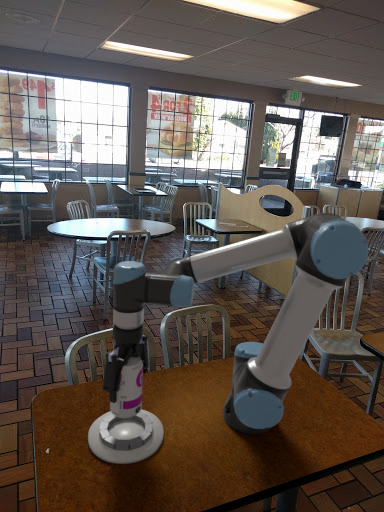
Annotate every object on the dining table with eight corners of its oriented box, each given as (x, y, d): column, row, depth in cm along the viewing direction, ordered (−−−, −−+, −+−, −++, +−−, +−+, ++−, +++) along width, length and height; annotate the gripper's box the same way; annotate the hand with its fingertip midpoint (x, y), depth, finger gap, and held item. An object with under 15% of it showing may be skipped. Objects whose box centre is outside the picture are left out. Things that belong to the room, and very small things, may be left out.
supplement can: (144, 401, 107) (146, 352, 103) (137, 421, 99) (138, 369, 95) (115, 398, 108) (116, 349, 104) (106, 417, 100) (106, 365, 96)
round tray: (177, 428, 109) (177, 419, 108) (132, 476, 92) (132, 466, 92) (121, 403, 119) (121, 395, 118) (71, 442, 102) (71, 433, 101)
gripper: (141, 306, 108) (139, 379, 113) (86, 334, 90) (87, 418, 96) (164, 313, 104) (160, 387, 110) (111, 343, 86) (110, 430, 92)
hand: (126, 402), depth 103 cm, fingers closed on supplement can, 8 cm apart
